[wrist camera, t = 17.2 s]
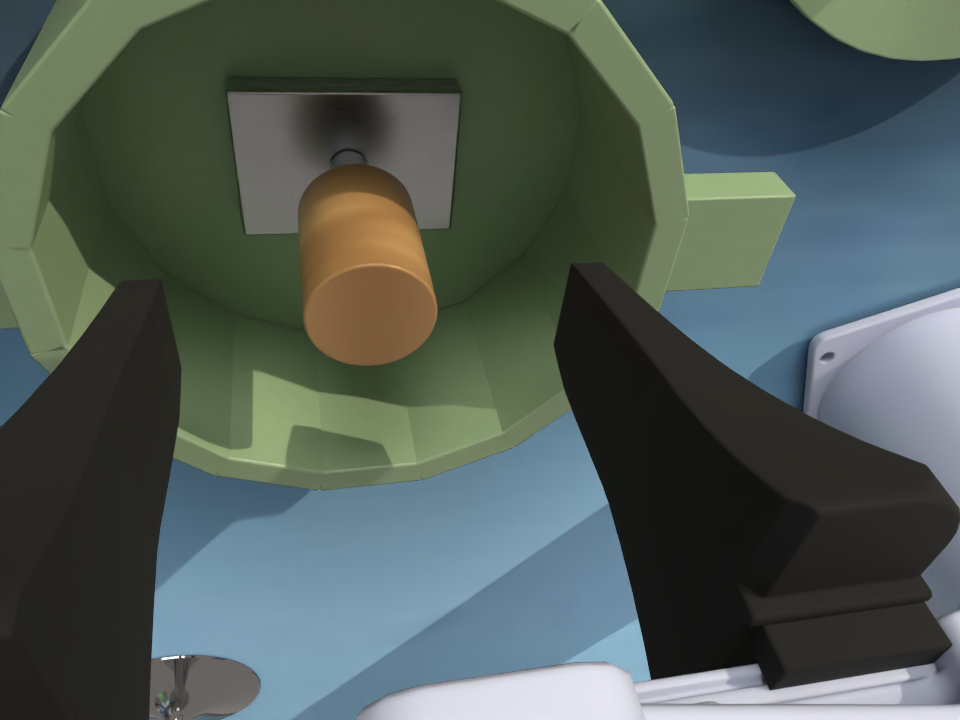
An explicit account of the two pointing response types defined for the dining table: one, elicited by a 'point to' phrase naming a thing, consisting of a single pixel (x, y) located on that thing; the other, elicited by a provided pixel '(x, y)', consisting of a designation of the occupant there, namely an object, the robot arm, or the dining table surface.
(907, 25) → the pot lid
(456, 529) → the dining table surface
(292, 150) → the masher
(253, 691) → the wine glass
